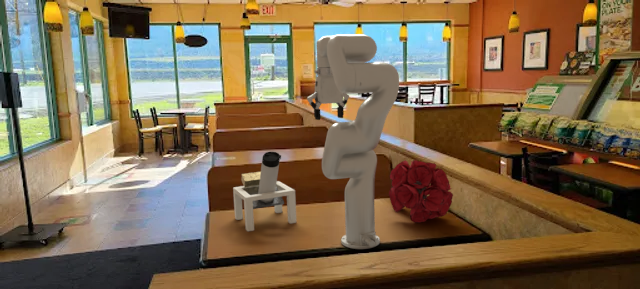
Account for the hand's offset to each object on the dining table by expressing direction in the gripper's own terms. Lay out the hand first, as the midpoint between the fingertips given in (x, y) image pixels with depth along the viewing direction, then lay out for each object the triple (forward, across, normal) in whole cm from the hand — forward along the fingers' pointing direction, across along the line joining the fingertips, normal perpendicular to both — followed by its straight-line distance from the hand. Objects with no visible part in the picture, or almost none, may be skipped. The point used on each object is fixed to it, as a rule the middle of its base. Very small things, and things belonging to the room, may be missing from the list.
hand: (329, 118), depth 167 cm
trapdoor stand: (+38, -24, +10) cm, 46 cm away
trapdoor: (+28, -24, +13) cm, 39 cm away
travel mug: (+29, -23, +10) cm, 38 cm away
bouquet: (+39, +26, -19) cm, 50 cm away
